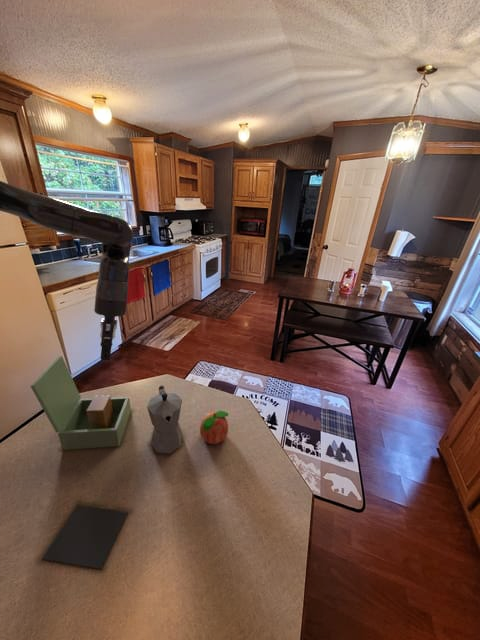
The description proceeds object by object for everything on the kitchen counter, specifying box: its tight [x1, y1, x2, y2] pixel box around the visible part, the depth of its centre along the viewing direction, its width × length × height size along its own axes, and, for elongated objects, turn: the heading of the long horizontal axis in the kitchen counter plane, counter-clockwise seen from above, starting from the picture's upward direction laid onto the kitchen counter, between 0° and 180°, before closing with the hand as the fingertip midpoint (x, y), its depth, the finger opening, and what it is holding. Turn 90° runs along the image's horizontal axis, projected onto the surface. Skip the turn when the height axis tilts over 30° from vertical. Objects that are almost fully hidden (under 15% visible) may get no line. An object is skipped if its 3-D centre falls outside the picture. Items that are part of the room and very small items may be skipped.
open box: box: [57, 396, 132, 450], centre depth 77 cm, size 15×14×7 cm
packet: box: [86, 394, 114, 429], centre depth 76 cm, size 4×6×10 cm
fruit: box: [199, 410, 229, 445], centre depth 77 cm, size 9×10×10 cm
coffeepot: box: [146, 385, 183, 454], centre depth 73 cm, size 15×9×18 cm, turn 23°
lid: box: [30, 355, 82, 433], centre depth 71 cm, size 16×14×1 cm
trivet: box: [41, 504, 129, 571], centre depth 53 cm, size 12×10×1 cm
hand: (106, 353), depth 70 cm, fingers open, 8 cm apart
